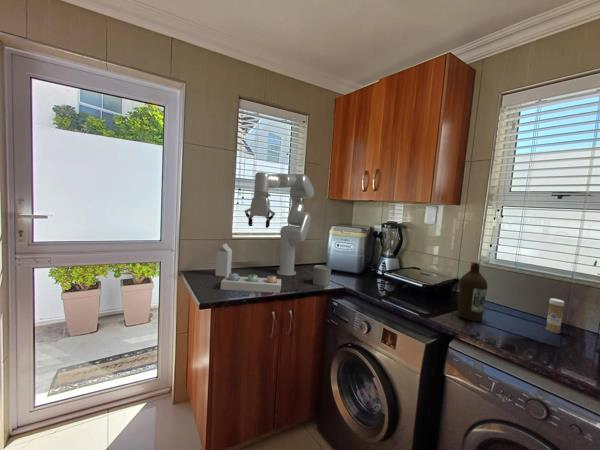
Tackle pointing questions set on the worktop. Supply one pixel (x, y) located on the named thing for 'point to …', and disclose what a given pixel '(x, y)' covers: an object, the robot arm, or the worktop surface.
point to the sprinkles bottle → (555, 315)
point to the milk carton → (223, 261)
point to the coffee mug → (321, 275)
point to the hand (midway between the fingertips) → (258, 226)
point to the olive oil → (472, 294)
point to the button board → (251, 285)
